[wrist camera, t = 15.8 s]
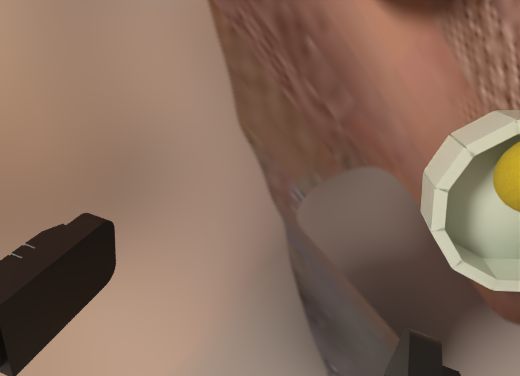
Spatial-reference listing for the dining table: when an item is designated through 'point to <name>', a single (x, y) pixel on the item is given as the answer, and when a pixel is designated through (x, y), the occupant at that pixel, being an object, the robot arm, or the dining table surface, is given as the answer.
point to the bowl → (475, 202)
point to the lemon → (508, 177)
